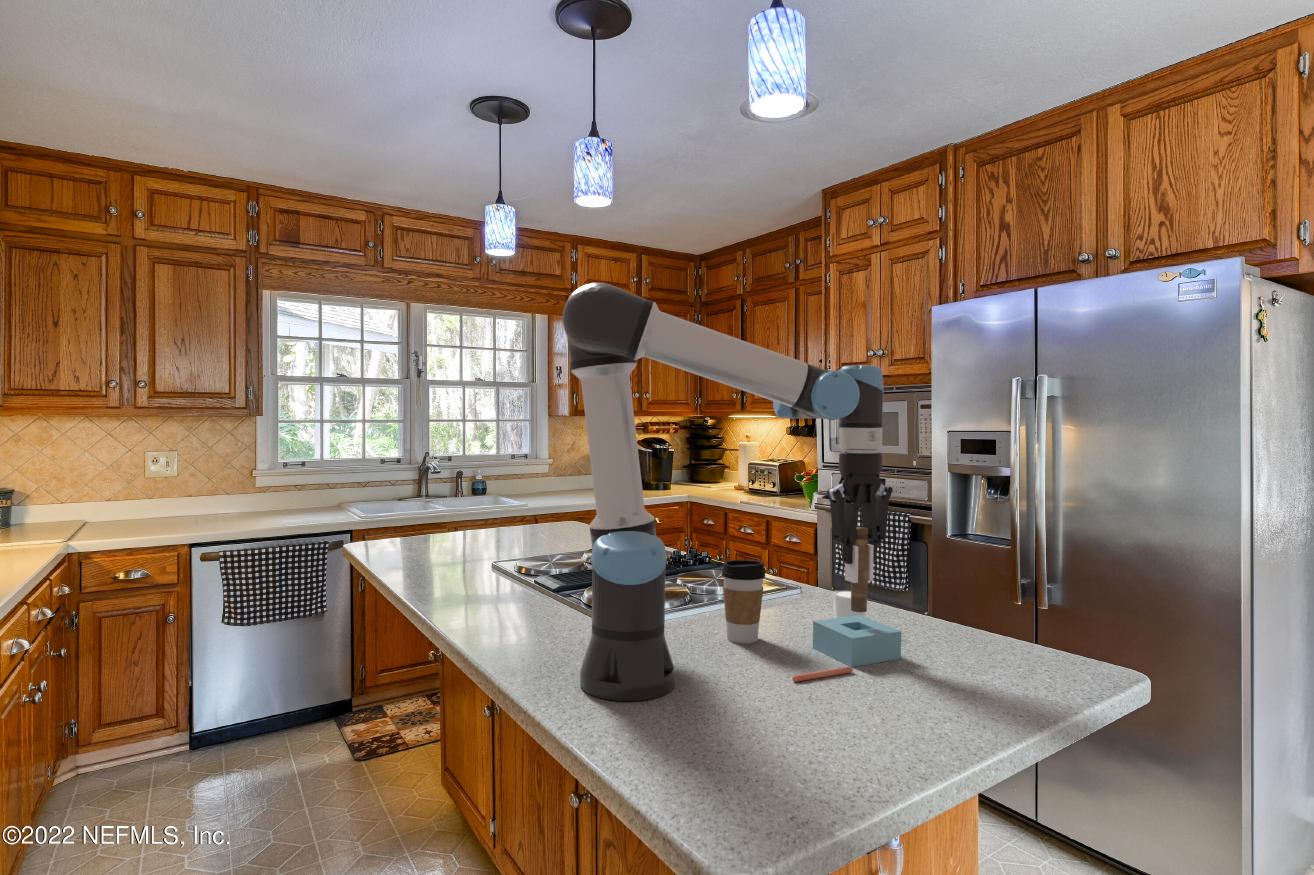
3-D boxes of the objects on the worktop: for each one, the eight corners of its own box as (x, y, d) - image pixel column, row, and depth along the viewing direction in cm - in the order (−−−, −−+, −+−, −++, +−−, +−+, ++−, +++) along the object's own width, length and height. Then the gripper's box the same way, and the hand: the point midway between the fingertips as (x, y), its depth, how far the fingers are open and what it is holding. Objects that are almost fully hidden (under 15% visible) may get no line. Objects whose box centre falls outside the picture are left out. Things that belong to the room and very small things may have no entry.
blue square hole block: (851, 667, 123) (851, 638, 123) (812, 647, 133) (813, 621, 133) (900, 659, 128) (901, 631, 127) (859, 640, 138) (860, 615, 137)
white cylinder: (870, 633, 142) (871, 598, 142) (835, 632, 143) (836, 598, 142) (861, 623, 149) (862, 590, 149) (828, 622, 149) (829, 589, 149)
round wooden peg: (857, 613, 128) (858, 529, 128) (847, 609, 131) (848, 527, 130) (870, 611, 129) (871, 528, 129) (859, 607, 132) (860, 526, 131)
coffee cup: (750, 648, 132) (752, 568, 132) (711, 639, 137) (713, 562, 137) (772, 637, 139) (773, 561, 138) (734, 629, 144) (735, 555, 143)
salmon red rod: (794, 683, 115) (794, 677, 115) (790, 681, 116) (790, 675, 116) (853, 673, 120) (854, 667, 120) (850, 671, 121) (850, 665, 121)
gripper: (838, 453, 123) (836, 589, 123) (909, 451, 129) (907, 580, 130) (811, 451, 129) (810, 580, 130) (880, 449, 136) (878, 572, 137)
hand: (858, 580), depth 130 cm, fingers closed on round wooden peg, 3 cm apart
